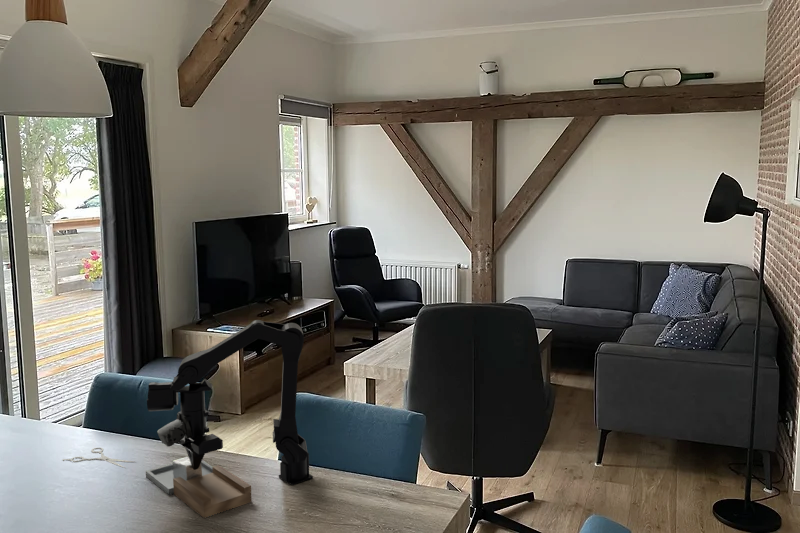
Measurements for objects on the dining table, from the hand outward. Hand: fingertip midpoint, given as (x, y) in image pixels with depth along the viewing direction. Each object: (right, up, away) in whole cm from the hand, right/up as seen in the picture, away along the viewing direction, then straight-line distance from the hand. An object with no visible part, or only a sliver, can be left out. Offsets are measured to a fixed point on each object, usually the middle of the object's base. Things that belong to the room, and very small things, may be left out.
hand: (195, 469), depth 173 cm
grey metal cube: (-3, -1, +4) cm, 5 cm away
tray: (-5, -4, +6) cm, 8 cm away
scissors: (-30, -3, +17) cm, 35 cm away
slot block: (+6, -5, -6) cm, 10 cm away
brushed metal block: (-2, -3, +2) cm, 4 cm away
